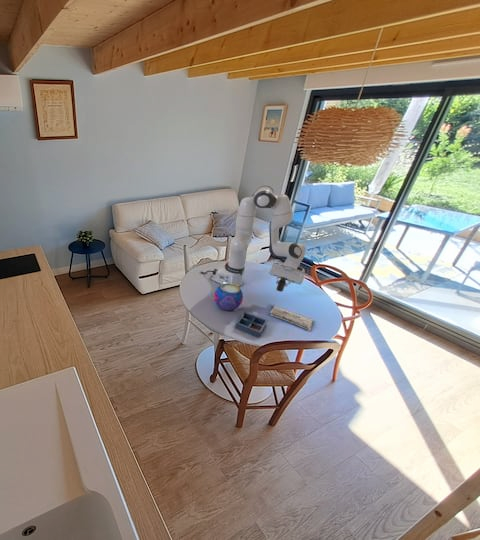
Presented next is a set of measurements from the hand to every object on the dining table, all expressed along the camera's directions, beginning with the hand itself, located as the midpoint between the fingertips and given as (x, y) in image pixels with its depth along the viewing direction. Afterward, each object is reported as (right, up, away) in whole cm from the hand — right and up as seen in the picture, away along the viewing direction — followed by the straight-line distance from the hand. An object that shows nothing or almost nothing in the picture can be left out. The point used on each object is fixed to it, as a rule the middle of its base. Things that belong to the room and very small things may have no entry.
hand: (281, 284), depth 188 cm
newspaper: (-1, -21, -12) cm, 24 cm away
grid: (-28, -24, -18) cm, 41 cm away
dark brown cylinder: (0, -4, +3) cm, 4 cm away
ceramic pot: (-37, -15, -1) cm, 40 cm away
